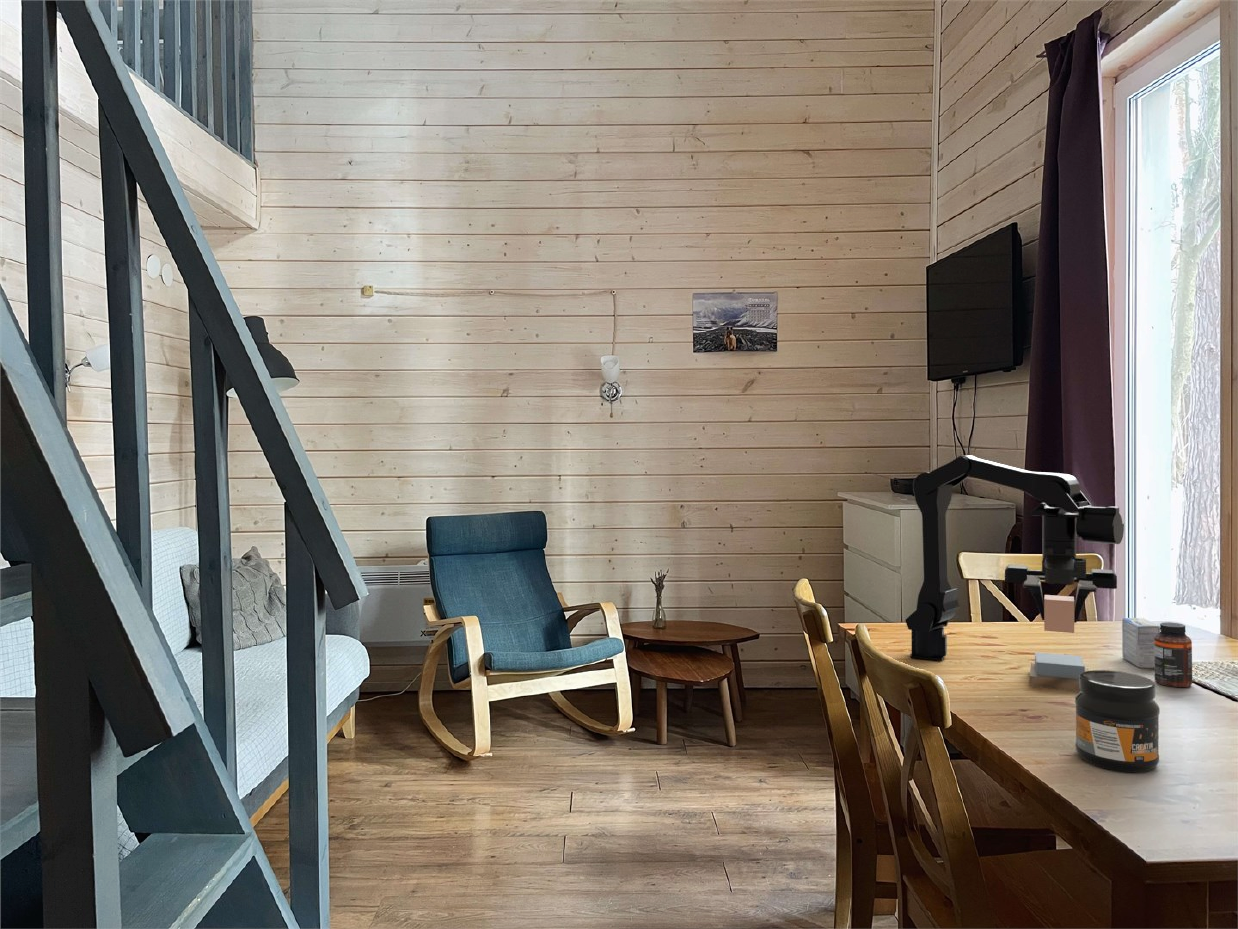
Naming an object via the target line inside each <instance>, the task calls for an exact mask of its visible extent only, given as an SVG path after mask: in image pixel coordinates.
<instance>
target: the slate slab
mask: <svg viewBox="0 0 1238 929" xmlns="http://www.w3.org/2000/svg"><path fill="white" fill-rule="evenodd" d="M1034 663H1035V668H1036V674H1037V675H1038V676H1049V677H1060V678H1071V679H1079V675H1080V674H1081V673H1083V672H1085V668H1086V666H1085V663H1084V661H1083V658H1082V655H1073V654H1059V653H1051V652H1049V653H1048V652H1034Z"/></svg>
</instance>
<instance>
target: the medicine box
mask: <svg viewBox="0 0 1238 929" xmlns="http://www.w3.org/2000/svg"><path fill="white" fill-rule="evenodd" d="M1121 621H1122V622H1121V626H1122V627H1121V629H1122V630H1121V632H1122V635H1121V637H1122V640H1121V641H1122V646H1121V647H1122V650H1121V651H1122V659H1124V660H1126V661H1128V662H1129V663H1131V664H1133V665H1134V666H1136V667H1137V668H1140V669H1155V658H1154V638H1155V636H1156V635H1157V634H1159V633H1160V632H1161V630H1160V625H1159V624H1157V623H1154V622H1152V621H1150V620H1148V619H1146V618H1143V617H1124V618H1122V620H1121Z"/></svg>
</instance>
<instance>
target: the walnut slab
mask: <svg viewBox="0 0 1238 929" xmlns="http://www.w3.org/2000/svg"><path fill="white" fill-rule="evenodd" d="M1086 671H1090V669H1089V668H1087V667H1085V672H1086ZM1029 686H1030V687H1038V688H1047V689H1049V688H1050V689H1054V690H1055V689H1056V690H1057V689H1058V690H1066V691H1074V692H1075V691H1076V692H1080V691H1081V690H1080V688H1079V679H1071V678H1060V677H1049V676H1038V675H1037V674H1036V668H1035V662H1033V663H1032V662H1031V663H1030V670H1029Z"/></svg>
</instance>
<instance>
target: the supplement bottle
mask: <svg viewBox="0 0 1238 929" xmlns="http://www.w3.org/2000/svg"><path fill="white" fill-rule="evenodd" d="M1159 626H1160V633H1159V634H1157V635H1156V636H1155V638H1154V658H1155V668H1154V681H1155V682H1156V683H1157V684H1160V685H1162V686H1165V687H1166V686H1167V687H1172V688H1188V687H1191V686H1192V684H1193V645H1192V644H1193V641H1192V639H1191V638H1190V636H1188V635H1187V634H1186V625H1185V624H1183V623H1180V622H1169V621H1168V622H1167V621H1166V622H1161V623H1159Z"/></svg>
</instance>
